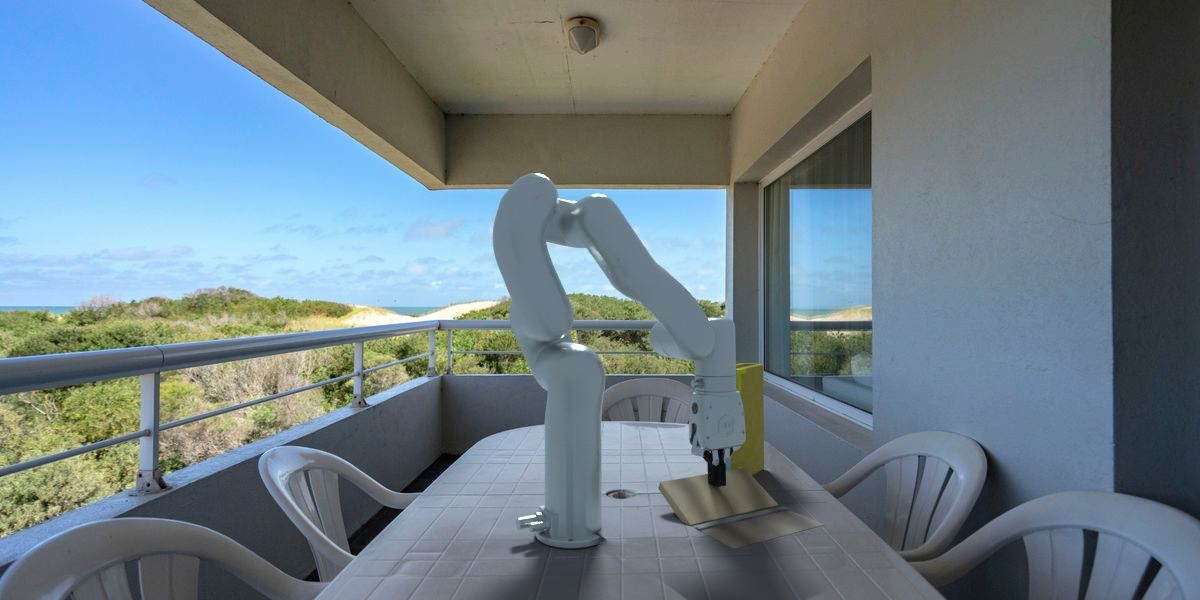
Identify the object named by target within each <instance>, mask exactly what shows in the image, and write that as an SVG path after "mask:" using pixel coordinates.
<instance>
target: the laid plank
mask: <svg viewBox="0 0 1200 600" xmlns="http://www.w3.org/2000/svg"><path fill="white" fill-rule="evenodd" d="M691 526H692V528H693V529H696V530H697V531H699V532H701V533H702V534H704V535H707V536H709V537H710V538H712V539H714V540H716V541H717V542H719V543H722V544H724V545H725V546H727V547H729V548H730V549H732V550H734V549H739V548H742V547H743V548H744V547H747V546H751V545H754V544H757V543H762V542H765V541H769V540H773V539H777V538H781V537H784V536H789V535H792V534H793V535H794V534H796V533H800V532H804V531H808V530H811V529H815V528H819V527H824V526H826V524H825V523H824V522H820V521H818V520H815V519H812V518H811V517H807V516H805V515H803V514H800V513H797V512H795V511H792V510H790V509H789V507H787V506H780V505H778V506H775V507H771V508H766V509H762V510H757V511H753V512H749V513H744V514H740V515H735V516H731V517H726V518H722V519H718V520H713V521H709V522H704V523H700V524H695V525H691Z"/></svg>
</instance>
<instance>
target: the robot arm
mask: <svg viewBox="0 0 1200 600" xmlns="http://www.w3.org/2000/svg"><path fill="white" fill-rule="evenodd" d="M494 217H495V219H494V222H493V228H492V247H493V248H492V249H493V253H494V254H493V255H494V258H495V261H496V264H497V267H498V269H499V271H500V274H501V275H500V276H502V280H503V282H504V285H505V287H506V290H507V291H508V294H509V296H510V298H511V303H510V305H509V310H508V319H509V324H510V327H511V328H510V329H511V330H512V333H513V335H514V337H515V339H516V341H517V343H518V346H519V348H520V351H521V352H522V355H523V357H524V359H525V361H526V364H527V365H528V367H529V369H530V372H531V374H532V376H533V377H534V380H535V381H536V382H537V384H539V386H540V387H541V388H542V389H544V391H547V394H546V396H547V397H546V405H545V413H544V414H545V415H544V504H543V505H539V506H538V511H536V512H534V513H533V514H532V515H524V516H518V517H516V519H515V526H516V528H517V530H525V529H529V531H530V533H535V534H534V535H535V537H536V539H537V540H538V541H539V542H541V543H543V544H545V545H547V546H550V547H553V548H561V549H583V548H588V547H593V546H596V545H599V544H601V543H603V542H605V541H607V539H606V538H605V537H604V536H602V534H599V533H598V531H599V530H600V529H601V528H602V525H603V524H602V519H603V518H602V511H603V509H602V506H603V505H602V503H603V502H602V501H603V500H602V495H603V494H602V493H603V492H602V489H603V488H602V487H603V486H602V484H603V482H602V480H603V479H602V465H603V464H602V458H603V457H602V417H603V415H602V414H603V403H604V398H605V397H604V395H605V388H606V370H605V367H604V363H603V362H602V359H601V357H600V356H599V355H598V354H597V352H595V350H593V349H592V348H590V347H588V346H586V345H584V344H581V343H575V342H574V339H573V337H572V335H571V332H570V331H571V329H572V327H573V325H574V322H575V311H574V307H573V304H572V303H571V300H570V298H569V297H568V294H567V292H566V291H565V288H564V286H563V284H562V282H561V279H560V276H559V275H558V273H557V270H556V269H555V266H554V263H553V260H552V258H551V255H550V251H549V249H548V243H550V244H554V245H558V246H565V247H569V248H575V249H587V251H588V253H589V254H590V255H591V257H592V258H593V259H594V261H595V263H596V264H597V265H598V267H600V270H601V271H602V273H603V274H604V275H605V277H606V278H607V279H608V281H609V282H610V284H611V286H612V288H614V289H615V290H617V292H619V293H620V294H622V295H623V296H625V297H626V298H627V299H630V300H632V301H634V302H636V303H638V304H640V305H641V306H642V307H643V308H645V309H646V310H648V311H649V312H650V314H652V315H653V316H654V317H655V318H656V320H658V321H657V322H655V323H654V324H653V326H652V327H651V329H650V332H649V343H650V346H651V347H652V349H653V350H654V351H655V353H657V354H659V355H660V356H662V357H664V358H668V359H674V360H682V361H689V362H694V379H692V380H690V386H691V388H694V392H692V394H691V400H690V405H689V416H688V417H689V418H688V438H689V444H690V445H691V451H690V453H691V455H693V456H695V457H701V458H703V461H704V462H705V463H706V465H707V474H708V482H709V484H711V485H714V486H716V487H721V486H726V464H727V463H728V462H729V457H730V455H731V454H732V452H734V451H736V450H738V449H740V447H741V445H742V444H743V443H744V442H745V419H744V410H743V404H742V399H741V395H740V392H739V391H736V364H737V358H736V357H737V356H736V355H737V354H736V347H737V346H736V345H737V344H736V325H735V321H734V320H732V319H731V318H727V317H708V316H707V314H706V313H705V312H704V310H703V309H702V307H701V306H700V304H699V302H698V301H697V300H696V297H694V296H693V295H692V294H691V292H690V291H689V290H688V289H687V288H686V287H685V286H684V285H683V284H682V283H681V282H680V281H678V280H677V278H675V277H674V276H672V274H671V273H670V272H668V271H667V270H666V269H665V268H664V267H663V266H661V265H660V264H658V263H657V262H656V260H655V259H654V257H653V256H652V255H651V254H650V252H649V251H648V250H647V248H646V246H645V245H644V244H643V242H642V241H641V239H640V237H639V236H638V234H637V233H636V231H635V230H634V228H633V227H632V225H631V224H630V223H629V220H627V218H626V217H625V216H624V214H623V212H622V211H621V209H620V208H619V206H618V205H617V203H615V201H614V200H613V199H612V198H610V197H609V196H607V195H605V194H602V193H601V194H600V193H594V194H589V195H587V196H584V197H582V198H581V199H579V200H577V201H571V200H566V199H561V198H559V192H558V190H557V186H556V185H555V184H554V182H553V181H552V180H551V179H550V178H549V177H547V176H546V175H544V174H541V173H527V174H525V175H522V176H520V177H518V179H516V180H515V181H514V182H513V183H512V185H510V187H508V189H507V190H506V192H504V194H503V196H502V197H501V199H500V202H499V205H498V207H497V211H496V214H495V216H494Z"/></svg>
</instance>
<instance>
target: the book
mask: <svg viewBox="0 0 1200 600" xmlns="http://www.w3.org/2000/svg"><path fill="white" fill-rule="evenodd" d="M736 391H739V392H740V395H741V399H742V404H743V410H744V419H745V442H744V443H743V444H742V445H741V447H740V449H738V450H736V451H734V452H732V454H731V455H730V457H729V462H728V463H727V464H726V471H727V470H733V469H739V468H745V469H746V470H747V471H748V472H749V473H750V474H751V475H752V476H754V475H756V474H758V473H759V472H761V471H762V470H764V471H765V440H764V439H765V436H764V435H765V432H764V431H765V429H764V428H765V427H764V426H765V425H764V421H765V420H764V418H765V417H764V416H765V415H764V410H765V409H764V364H763V363H755V362H754V363H753V362H750V363H749V362H746V363H745V362H742V363H736Z"/></svg>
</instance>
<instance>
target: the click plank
mask: <svg viewBox="0 0 1200 600" xmlns="http://www.w3.org/2000/svg"><path fill="white" fill-rule="evenodd" d="M657 489H658V491H659V492H660V493H661V495H662V496H663V497H664V499H665V500H666V502H667V503H668V505H669V506H670V507H671V509H672V511H673V512H674V513H675V515H676V516H677V518H678V519H679V520H680V521H681V522H682V523H685V524H686V525H688V526H689V527H691V526H696V525H700V524H705V523H709V522H713V521H718V520H722V519H727V518H731V517H735V516H740V515H744V514H749V513H753V512H757V511H762V510H766V509H771V508H775V507H779V503H778V502H777V501H775V499H774V498H773V497H772V496H771V495H770V494H769V493H768V491H766V489H764V487H763V486H762V485H761V484H760V483H759V482H758V481H757V479H756V478H754V475H751V474H750V473H749V472H748V471H747V470H746V469H745V468H739V469H733V470H727V471H726V486H721V487H716V486H714V485H711V484H709V482H708V473H705V474H700V475H694V476H688V477H682V478H677V479H670V480H664V481H660V482H659V485H658V488H657Z"/></svg>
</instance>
